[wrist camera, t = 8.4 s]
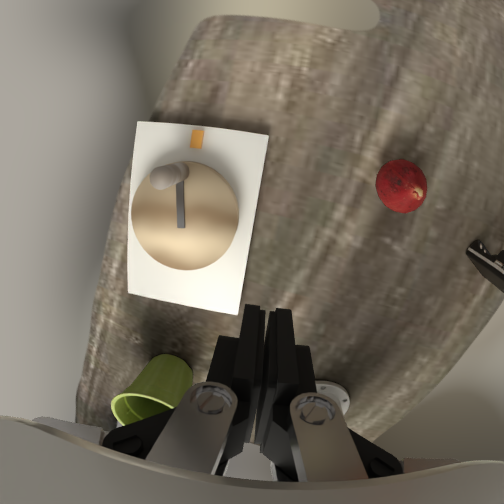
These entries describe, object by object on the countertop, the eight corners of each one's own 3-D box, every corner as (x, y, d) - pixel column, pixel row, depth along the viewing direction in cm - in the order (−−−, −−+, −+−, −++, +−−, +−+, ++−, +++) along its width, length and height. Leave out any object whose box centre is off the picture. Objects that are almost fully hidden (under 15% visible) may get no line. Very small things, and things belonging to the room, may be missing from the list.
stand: (238, 309, 39) (237, 317, 37) (132, 287, 39) (126, 294, 37) (268, 136, 31) (268, 135, 29) (142, 122, 31) (135, 120, 29)
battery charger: (495, 257, 34) (540, 289, 24) (482, 276, 35) (524, 311, 25) (477, 231, 33) (527, 260, 22) (463, 251, 34) (510, 285, 24)
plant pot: (127, 341, 42) (97, 389, 32) (197, 340, 41) (179, 396, 31) (150, 393, 46) (130, 440, 36) (214, 395, 45) (203, 448, 34)
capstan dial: (238, 265, 35) (230, 299, 27) (142, 261, 35) (114, 290, 28) (240, 160, 31) (231, 165, 23) (135, 163, 31) (100, 170, 24)
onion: (358, 189, 33) (382, 201, 25) (381, 148, 31) (411, 150, 23) (395, 213, 33) (424, 232, 26) (416, 174, 31) (451, 184, 24)
